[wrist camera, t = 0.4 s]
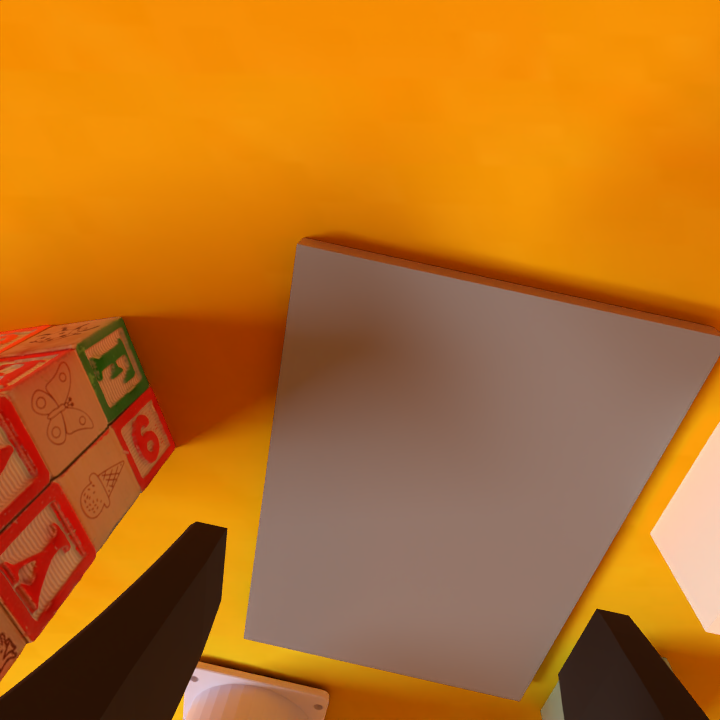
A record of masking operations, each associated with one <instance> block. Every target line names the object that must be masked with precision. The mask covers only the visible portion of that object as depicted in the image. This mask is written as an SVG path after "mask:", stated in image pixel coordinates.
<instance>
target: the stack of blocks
mask: <svg viewBox="0 0 720 720" xmlns="http://www.w3.org/2000/svg"><path fill="white" fill-rule="evenodd" d="M174 449H175V444H174V441H173V439H172V436H171V434H170V431H169V429H168V426H167V424H166V422H165V419H164V417H163V414H162V412H161V410H160V407H159V405H158V402H157V400H156V398H155V395H154V393H153V390H152V388H151V387H150V386H149V383H148V381H147V378H146V376H145V373H144V371H143V369H142V366H141V364H140V361H139V359H138V356H137V354H136V351H135V349H134V346H133V344H132V341H131V339H130V336H129V334H128V332H127V329H126V326H125V324H124V321H123V319H122V317H111V318H105V319H98V320H92V321H85V322H78V323H71V324H65V325H58V326H51V325H44V326H38V327H31V328H25V329H18V330H12V331H6V332H0V681H1V680H2V678H3V677H4V676H5V674H6V673H7V672H8V670H9V669H10V667H11V666H12V665H13V663H14V662H15V661H16V659H17V658H18V656H19V655H20V654H21V652H22V650H23V648H24V647H25V645H26V644H27V643H30V642H33V641H35V639H36V638H37V637H38V636H39V635H40V633H41V632H42V631H43V629H44V628H45V626H46V625H47V624H48V622H49V621H50V620H51V619H52V617H53V616H54V615H55V613H56V612H57V610H58V609H59V607H60V606H61V605H62V603H63V602H64V601H65V600H66V598H67V597H68V596H69V594H70V593H71V591H72V590H73V588H74V587H75V586H76V584H77V583H78V582H79V581H80V580H81V578H82V576H83V574H84V573H85V571H86V570H87V569H88V568H89V566H90V565H91V564H92V562H93V561H94V559H95V557H96V553H97V552H98V551H99V549H100V548H101V547H102V546H103V544H104V543H105V542H106V540H107V539H108V537H109V536H110V534H111V533H112V532H113V530H114V529H115V527H116V526H117V525H118V523H119V522H120V521H121V519H122V518H123V517H124V515H125V514H126V513H127V511H128V510H129V509H130V507H131V506H132V505H133V503H134V502H135V500H136V499H137V497H138V496H139V494H140V493H142V492H143V491H144V490H145V488H146V487H147V486H148V485H149V483H150V482H151V481H152V479H153V478H154V476H155V475H156V474H157V472H158V471H159V469H160V468H161V466H162V465H163V464H164V463H165V461H166V460H167V459H168V458H169V456H170V455H171V454H172V452H173V451H174Z"/></svg>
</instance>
